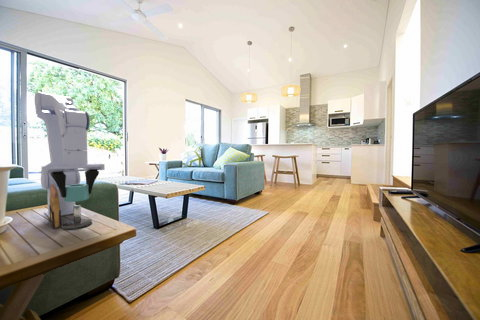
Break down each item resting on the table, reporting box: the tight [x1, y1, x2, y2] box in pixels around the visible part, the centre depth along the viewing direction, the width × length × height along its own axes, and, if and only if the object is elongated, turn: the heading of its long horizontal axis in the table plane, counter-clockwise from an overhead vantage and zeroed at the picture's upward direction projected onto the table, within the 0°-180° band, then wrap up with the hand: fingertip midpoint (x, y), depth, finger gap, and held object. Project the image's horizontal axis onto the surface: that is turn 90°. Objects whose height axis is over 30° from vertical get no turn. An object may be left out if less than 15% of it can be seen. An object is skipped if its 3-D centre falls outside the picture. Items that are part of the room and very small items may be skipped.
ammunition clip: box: [49, 184, 62, 230], centre depth 61 cm, size 11×2×12 cm, turn 48°
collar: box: [64, 183, 90, 203], centre depth 60 cm, size 5×5×4 cm
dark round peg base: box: [61, 204, 93, 231], centre depth 60 cm, size 7×7×6 cm
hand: (76, 195), depth 60 cm, fingers closed on collar, 5 cm apart
